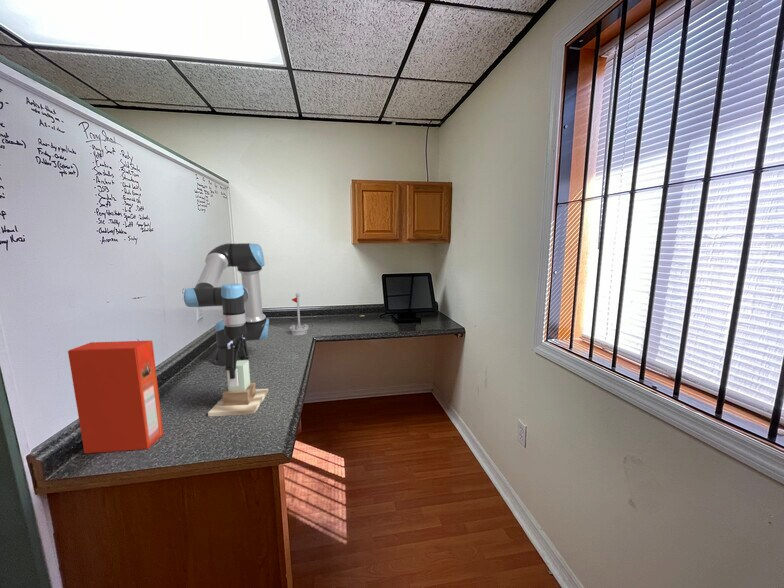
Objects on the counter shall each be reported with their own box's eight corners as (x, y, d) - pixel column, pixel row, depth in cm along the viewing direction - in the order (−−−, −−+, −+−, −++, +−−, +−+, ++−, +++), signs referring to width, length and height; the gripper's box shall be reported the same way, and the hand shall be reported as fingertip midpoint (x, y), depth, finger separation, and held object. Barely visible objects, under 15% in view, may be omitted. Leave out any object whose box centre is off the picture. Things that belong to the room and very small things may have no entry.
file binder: (146, 450, 92) (134, 348, 88) (83, 454, 90) (67, 350, 86) (163, 434, 100) (152, 340, 96) (105, 438, 98) (92, 342, 94)
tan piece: (229, 393, 128) (227, 379, 128) (268, 391, 130) (267, 377, 129) (208, 416, 111) (206, 399, 110) (254, 413, 112) (253, 397, 112)
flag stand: (311, 331, 231) (309, 292, 227) (304, 335, 218) (302, 294, 214) (294, 330, 232) (292, 291, 228) (287, 335, 219) (285, 294, 215)
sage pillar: (234, 384, 122) (232, 360, 121) (250, 384, 123) (248, 360, 122) (228, 391, 116) (226, 366, 115) (244, 390, 117) (243, 365, 116)
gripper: (235, 318, 126) (239, 370, 129) (211, 332, 105) (216, 393, 108) (254, 318, 127) (258, 369, 130) (233, 331, 106) (238, 392, 109)
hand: (239, 380), depth 119 cm, fingers open, 9 cm apart
